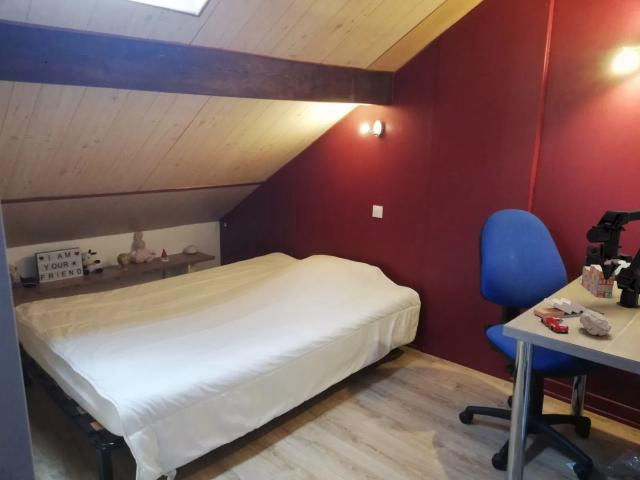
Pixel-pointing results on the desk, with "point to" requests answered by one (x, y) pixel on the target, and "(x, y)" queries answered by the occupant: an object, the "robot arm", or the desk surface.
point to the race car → (555, 324)
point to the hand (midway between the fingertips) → (606, 279)
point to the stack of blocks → (597, 281)
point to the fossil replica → (594, 323)
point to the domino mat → (577, 313)
